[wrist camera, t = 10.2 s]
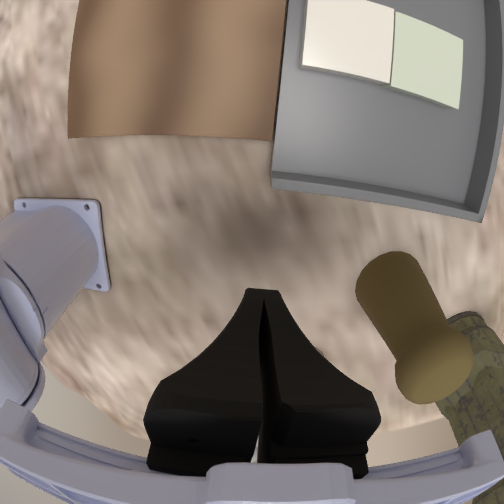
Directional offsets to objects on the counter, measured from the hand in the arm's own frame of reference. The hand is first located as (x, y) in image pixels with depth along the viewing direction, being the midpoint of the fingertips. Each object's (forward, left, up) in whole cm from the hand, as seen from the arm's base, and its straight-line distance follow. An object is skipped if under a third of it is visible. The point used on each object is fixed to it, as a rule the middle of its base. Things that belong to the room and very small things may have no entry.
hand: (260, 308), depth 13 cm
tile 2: (+4, +13, -8) cm, 16 cm away
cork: (+11, -4, -10) cm, 15 cm away
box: (+8, +13, -9) cm, 18 cm away
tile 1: (+9, +13, -8) cm, 17 cm away
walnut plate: (-6, +13, -9) cm, 17 cm away
